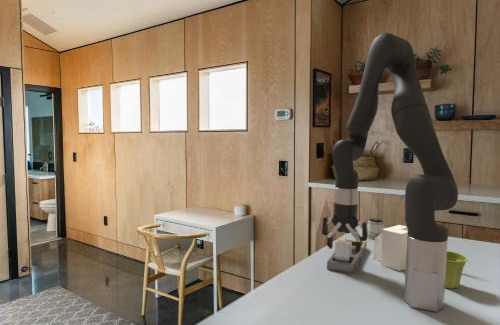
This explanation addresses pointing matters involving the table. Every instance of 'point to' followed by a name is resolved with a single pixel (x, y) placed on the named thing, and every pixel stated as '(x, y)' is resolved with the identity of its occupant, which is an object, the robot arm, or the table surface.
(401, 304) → the table surface
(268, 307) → the table surface
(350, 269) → the rail
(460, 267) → the plant pot
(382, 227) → the camera lens
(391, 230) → the white angular block
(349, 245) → the pale grey square box
